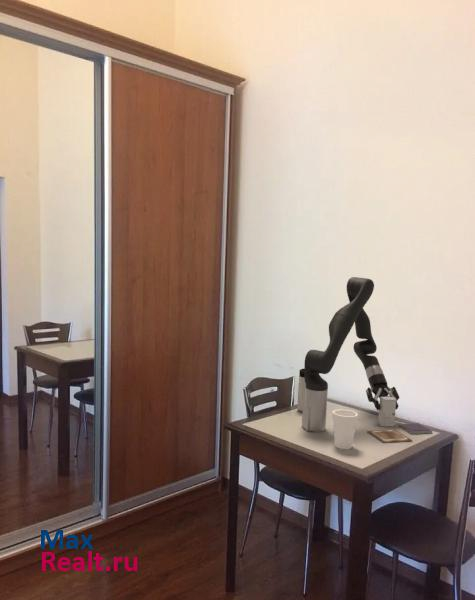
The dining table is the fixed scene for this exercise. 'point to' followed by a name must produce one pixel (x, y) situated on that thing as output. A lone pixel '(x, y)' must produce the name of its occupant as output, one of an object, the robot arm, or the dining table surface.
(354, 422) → the foam cup
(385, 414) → the skincare box
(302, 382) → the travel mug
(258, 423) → the dining table surface
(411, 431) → the ink pad
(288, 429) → the dining table surface
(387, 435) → the marked board
